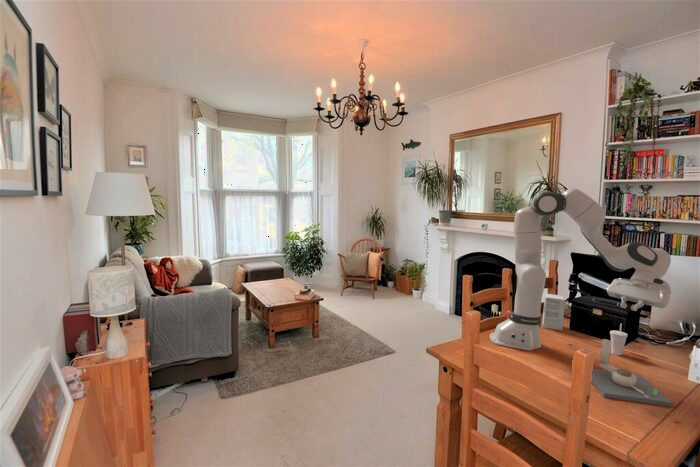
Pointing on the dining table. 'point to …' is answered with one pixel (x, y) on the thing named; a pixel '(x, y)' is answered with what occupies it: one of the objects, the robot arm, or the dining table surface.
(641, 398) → the dial plate
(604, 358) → the dial rotor
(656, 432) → the dining table surface
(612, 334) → the smoothie
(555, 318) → the supplement box
